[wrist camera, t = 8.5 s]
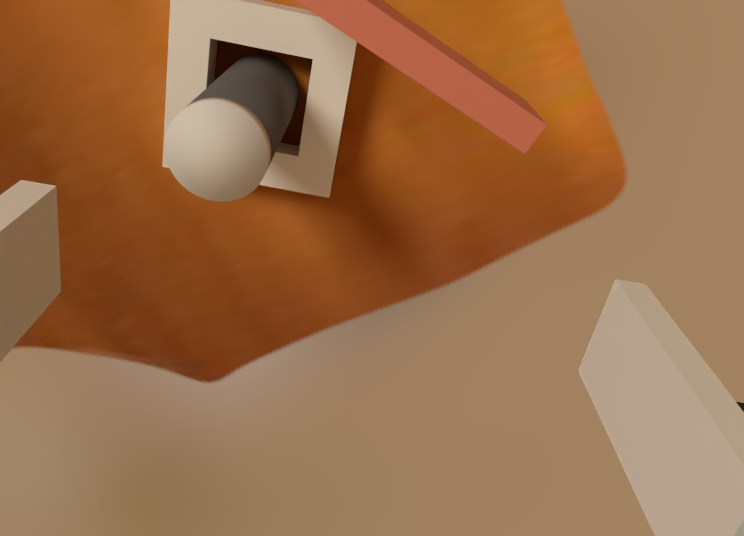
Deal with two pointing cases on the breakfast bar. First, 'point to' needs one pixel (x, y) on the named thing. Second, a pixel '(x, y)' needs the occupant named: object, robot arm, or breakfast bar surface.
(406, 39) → the clip
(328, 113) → the socket
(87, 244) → the breakfast bar surface
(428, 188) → the breakfast bar surface
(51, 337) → the breakfast bar surface
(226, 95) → the dark grey cylinder
